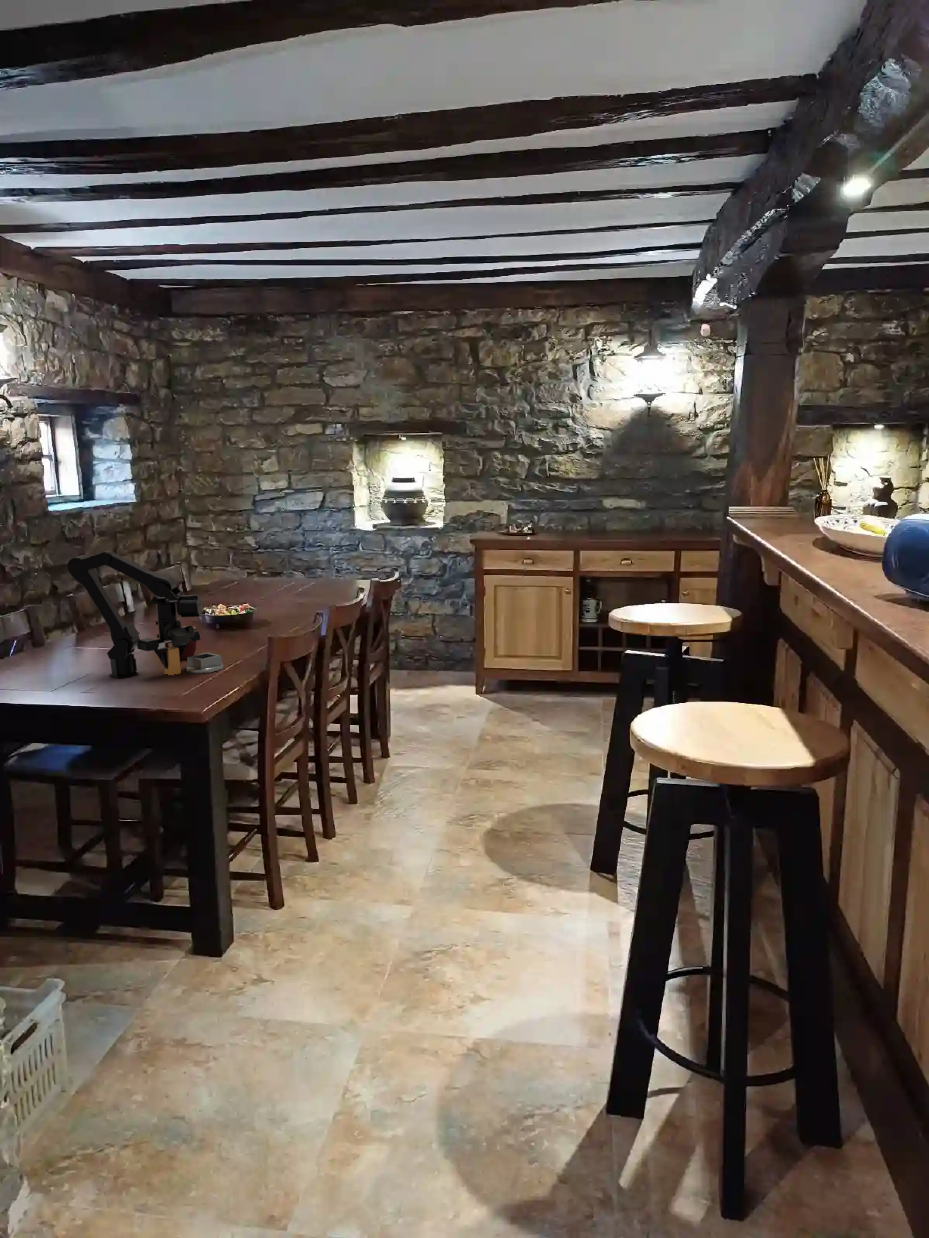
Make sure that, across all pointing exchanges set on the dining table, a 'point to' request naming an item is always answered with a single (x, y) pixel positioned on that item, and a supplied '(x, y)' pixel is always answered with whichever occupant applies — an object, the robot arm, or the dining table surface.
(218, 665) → the silver square frame
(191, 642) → the mug
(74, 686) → the dining table surface
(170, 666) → the orange-brown rectangular block
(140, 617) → the dining table surface
